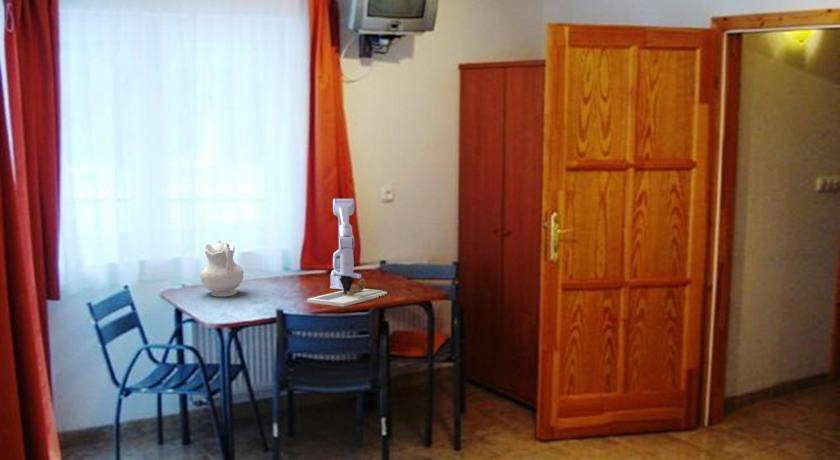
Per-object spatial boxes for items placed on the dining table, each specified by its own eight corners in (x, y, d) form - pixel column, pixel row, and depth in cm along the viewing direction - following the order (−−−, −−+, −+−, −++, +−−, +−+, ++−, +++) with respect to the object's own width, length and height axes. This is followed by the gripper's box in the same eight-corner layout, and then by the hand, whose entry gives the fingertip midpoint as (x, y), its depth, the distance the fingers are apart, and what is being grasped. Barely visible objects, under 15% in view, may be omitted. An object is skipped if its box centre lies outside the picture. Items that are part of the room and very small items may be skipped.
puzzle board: (306, 302, 353) (306, 298, 353) (354, 290, 384) (354, 287, 384) (343, 306, 343) (343, 303, 343) (389, 294, 374) (389, 291, 374)
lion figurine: (364, 294, 375) (363, 278, 375) (367, 295, 372) (367, 279, 371) (340, 295, 370) (339, 280, 370) (343, 297, 366) (343, 281, 366)
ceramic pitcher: (255, 295, 370) (254, 242, 368) (218, 301, 356) (217, 245, 354) (228, 290, 385) (227, 238, 383) (192, 295, 371) (191, 242, 369)
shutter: (346, 297, 358) (346, 291, 358) (372, 290, 375) (372, 285, 375) (357, 298, 355) (357, 292, 355) (382, 291, 372) (382, 286, 372)
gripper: (328, 262, 359) (328, 292, 360) (354, 265, 351) (354, 295, 353) (337, 261, 365) (338, 290, 366) (364, 263, 357) (364, 293, 359)
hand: (347, 293), depth 360 cm, fingers closed
